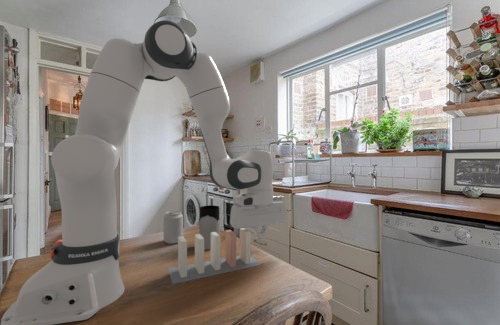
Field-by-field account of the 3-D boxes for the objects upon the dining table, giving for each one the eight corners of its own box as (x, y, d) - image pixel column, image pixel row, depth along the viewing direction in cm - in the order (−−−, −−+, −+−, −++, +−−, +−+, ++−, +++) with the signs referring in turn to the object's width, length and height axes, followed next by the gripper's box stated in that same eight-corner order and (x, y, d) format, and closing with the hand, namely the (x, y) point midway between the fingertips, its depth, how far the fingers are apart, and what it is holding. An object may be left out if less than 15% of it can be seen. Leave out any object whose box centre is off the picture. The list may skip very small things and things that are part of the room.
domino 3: (215, 270, 72) (215, 237, 72) (210, 263, 77) (210, 232, 76) (220, 269, 73) (220, 236, 73) (215, 262, 77) (215, 231, 77)
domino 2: (198, 273, 70) (198, 239, 70) (194, 266, 74) (194, 234, 74) (204, 272, 71) (204, 238, 70) (199, 265, 75) (199, 233, 75)
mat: (172, 285, 64) (172, 284, 64) (167, 269, 73) (167, 268, 73) (261, 265, 76) (261, 264, 76) (247, 254, 85) (247, 253, 85)
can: (165, 238, 101) (165, 210, 101) (183, 237, 102) (183, 209, 102) (161, 245, 94) (161, 214, 94) (182, 244, 95) (181, 213, 95)
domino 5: (245, 264, 77) (245, 232, 76) (239, 258, 81) (239, 228, 81) (250, 263, 77) (250, 232, 77) (243, 257, 82) (243, 227, 82)
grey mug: (195, 250, 89) (195, 209, 89) (203, 237, 103) (203, 202, 103) (219, 250, 89) (219, 209, 88) (224, 237, 103) (224, 202, 102)
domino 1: (181, 277, 68) (181, 242, 68) (178, 270, 72) (177, 236, 72) (186, 276, 68) (186, 241, 68) (183, 269, 73) (183, 236, 73)
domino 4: (231, 267, 74) (231, 234, 74) (225, 260, 79) (225, 230, 79) (236, 266, 75) (236, 234, 75) (230, 260, 80) (230, 229, 79)
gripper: (280, 194, 89) (280, 231, 89) (228, 197, 80) (228, 239, 80) (290, 196, 83) (290, 236, 83) (235, 201, 74) (235, 246, 74)
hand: (259, 238), depth 81 cm, fingers closed
